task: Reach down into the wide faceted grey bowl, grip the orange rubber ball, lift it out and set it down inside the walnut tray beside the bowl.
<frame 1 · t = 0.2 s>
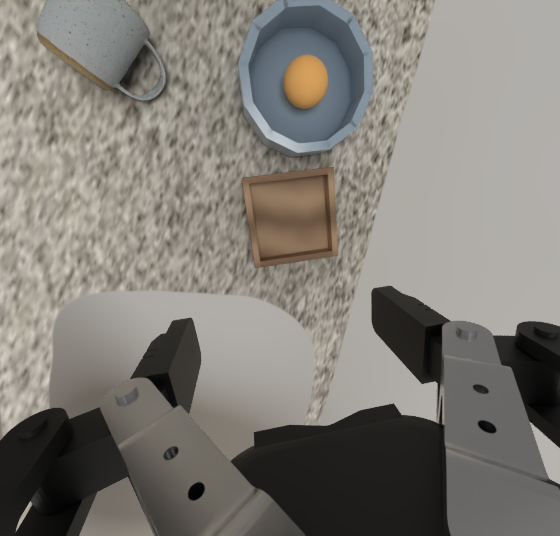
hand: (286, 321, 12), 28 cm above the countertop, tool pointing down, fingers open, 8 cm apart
tray: (289, 216, 39), on the countertop
faceted grey bowl: (299, 93, 35), on the countertop
ceramic mug: (124, 57, 31), on the countertop
ball: (305, 83, 31), point 4 cm above the countertop, touching faceted grey bowl
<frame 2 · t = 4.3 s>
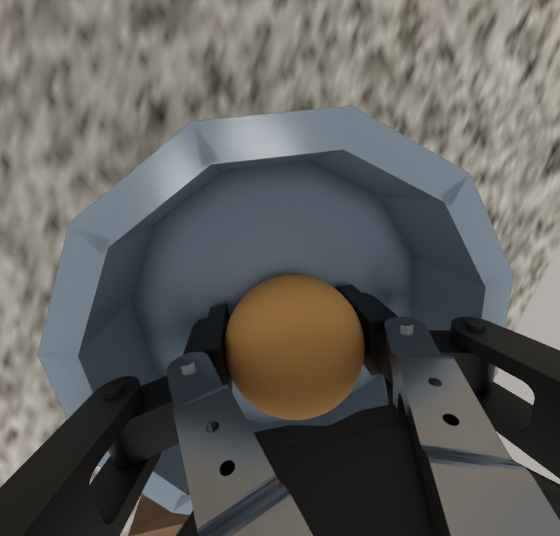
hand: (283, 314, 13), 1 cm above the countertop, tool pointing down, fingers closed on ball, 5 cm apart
tray: (262, 516, 18), on the countertop
faceted grey bowl: (280, 303, 14), on the countertop
ball: (293, 342, 10), point 4 cm above the countertop, touching faceted grey bowl, gripper
when the fingers open (3 cm above the countertop, at t = 10.8 s): ball drops 2 cm, resting on tray.
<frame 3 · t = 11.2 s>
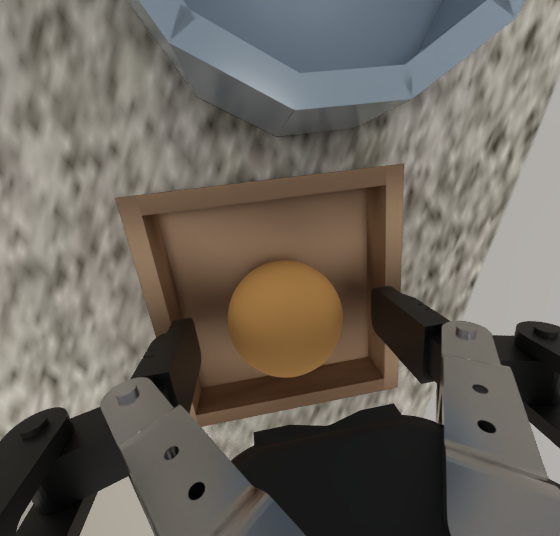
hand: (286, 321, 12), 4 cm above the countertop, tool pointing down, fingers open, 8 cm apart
tray: (275, 287, 16), on the countertop
ball: (285, 316, 12), point 4 cm above the countertop, touching tray
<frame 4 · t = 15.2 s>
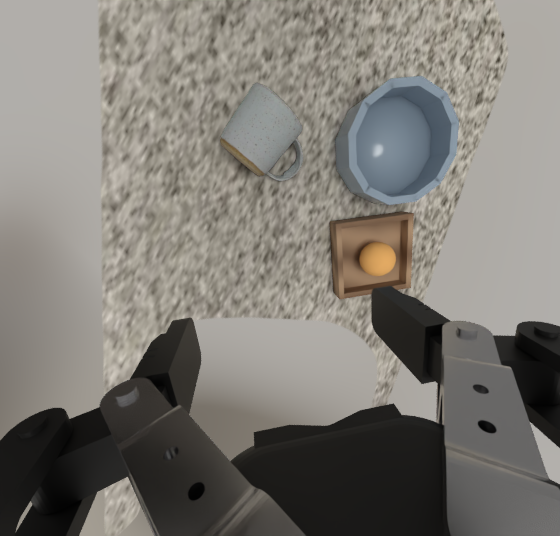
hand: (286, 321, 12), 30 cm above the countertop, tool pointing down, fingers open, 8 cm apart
tray: (366, 252, 44), on the countertop
faceted grey bowl: (384, 149, 40), on the countertop
ceramic mug: (266, 144, 38), on the countertop
ball: (377, 259, 41), point 4 cm above the countertop, touching tray
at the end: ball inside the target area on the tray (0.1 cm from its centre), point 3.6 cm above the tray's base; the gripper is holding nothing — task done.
